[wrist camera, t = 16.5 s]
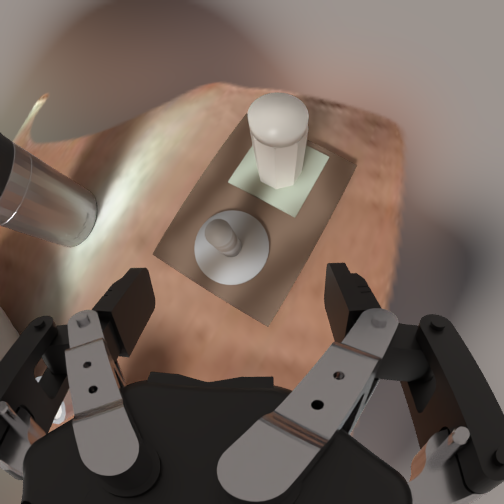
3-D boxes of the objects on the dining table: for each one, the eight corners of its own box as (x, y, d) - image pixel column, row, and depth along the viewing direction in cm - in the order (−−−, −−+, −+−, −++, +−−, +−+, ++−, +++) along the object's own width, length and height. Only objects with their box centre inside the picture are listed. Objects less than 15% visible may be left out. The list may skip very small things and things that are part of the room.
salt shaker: (249, 176, 33) (236, 123, 22) (271, 143, 34) (266, 85, 23) (287, 196, 32) (290, 148, 21) (308, 162, 33) (318, 106, 22)
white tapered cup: (97, 382, 32) (67, 394, 26) (91, 418, 32) (63, 433, 25) (64, 360, 33) (33, 366, 26) (59, 395, 32) (30, 405, 26)
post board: (157, 256, 34) (121, 242, 26) (247, 119, 36) (239, 76, 28) (268, 325, 32) (265, 335, 23) (354, 170, 34) (373, 133, 25)
